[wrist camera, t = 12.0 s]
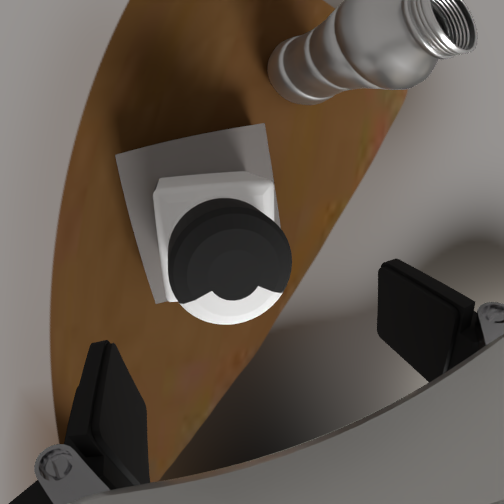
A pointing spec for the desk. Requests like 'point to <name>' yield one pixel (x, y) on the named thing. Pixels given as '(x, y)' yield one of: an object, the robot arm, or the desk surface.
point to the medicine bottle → (221, 245)
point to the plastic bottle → (371, 48)
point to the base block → (180, 164)
